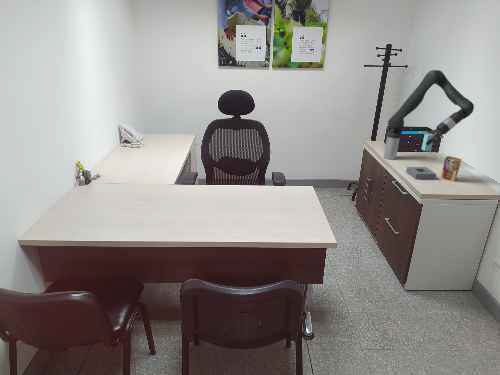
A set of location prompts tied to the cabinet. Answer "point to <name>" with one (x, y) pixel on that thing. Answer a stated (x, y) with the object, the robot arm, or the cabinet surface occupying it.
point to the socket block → (421, 173)
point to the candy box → (451, 168)
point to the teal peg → (426, 138)
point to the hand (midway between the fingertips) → (424, 143)
